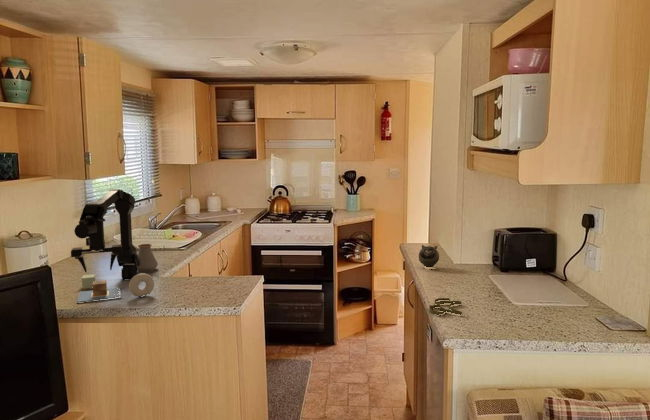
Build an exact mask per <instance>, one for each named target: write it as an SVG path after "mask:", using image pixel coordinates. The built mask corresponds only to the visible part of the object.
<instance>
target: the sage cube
mask: <svg viewBox="0 0 650 420" xmlns="http://www.w3.org/2000/svg"><path fill="white" fill-rule="evenodd" d="M93 281H97V279H96V274H95V273H94V274H93V273H92V274H86V275H85V274H84V275H82V277H81V287H82V289H81V290H85V289H84V288H90V289H93V288H92V287H93V286H92V284H93Z"/></svg>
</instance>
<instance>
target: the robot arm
mask: <svg viewBox="0 0 650 420" xmlns="http://www.w3.org/2000/svg"><path fill="white" fill-rule="evenodd" d="M113 204H114V209H115V210H116V211H117V213H118V215H119V231H120V232H119V233H120V244H111V246H110V247H106V240H105V229H104V222H106V218H104V217H105V215H106V214H107V213H108V210H107V209H108V208H110V207H111V205H113ZM135 204H136V198H135V197H134V196H133V195H132V194H131V193H128V192H125V191H124V190H123V189H120V188H111V189H109V190H108V192H106V193H105V194H104V195H102V196H101V197H100V198H98V199H97V200H94V201H90V202H87V203H86V204H84V206H83V208H82V211H81V215H80V217H79V221H78V224H77V225H76V226H75V227H74V230H73V231H74V234H75V236H76V237H77V238H79V239H85V245H86V247H88V248H83V246H80V247H72V249H71V250H70V258H74V259H75V260H78V261H79V263H80V265H81V266H82V268H83V270H84V272H85V273H87V271H88V270H87V264H86V259H85V254H99V253H111V254H110V262H109V263H110V264H109V271H112V269H113V265H114V262H115V260H117V265H118V267H122V268H121V279H122V280H123V279H132V278H133V277H134V276H135V275H137V274H138V270H137V266H140V264H141V259H140V258H139V256H138V252H137V251H138V250H137V249H136V248H135V247H136V246H135V245H134V244H133V233H132V230H133V229H132V212H133V211H134V209H135ZM133 245H134V246H135V247H134V246H133Z"/></svg>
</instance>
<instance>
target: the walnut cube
mask: <svg viewBox="0 0 650 420" xmlns="http://www.w3.org/2000/svg"><path fill="white" fill-rule="evenodd" d="M107 283H108V282H107V279H106V280H105V279H104V280H96V281H93V284H92V286H93V288H92V290H93V296H102V295H107V289H108V286H107V285H108V284H107Z"/></svg>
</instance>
